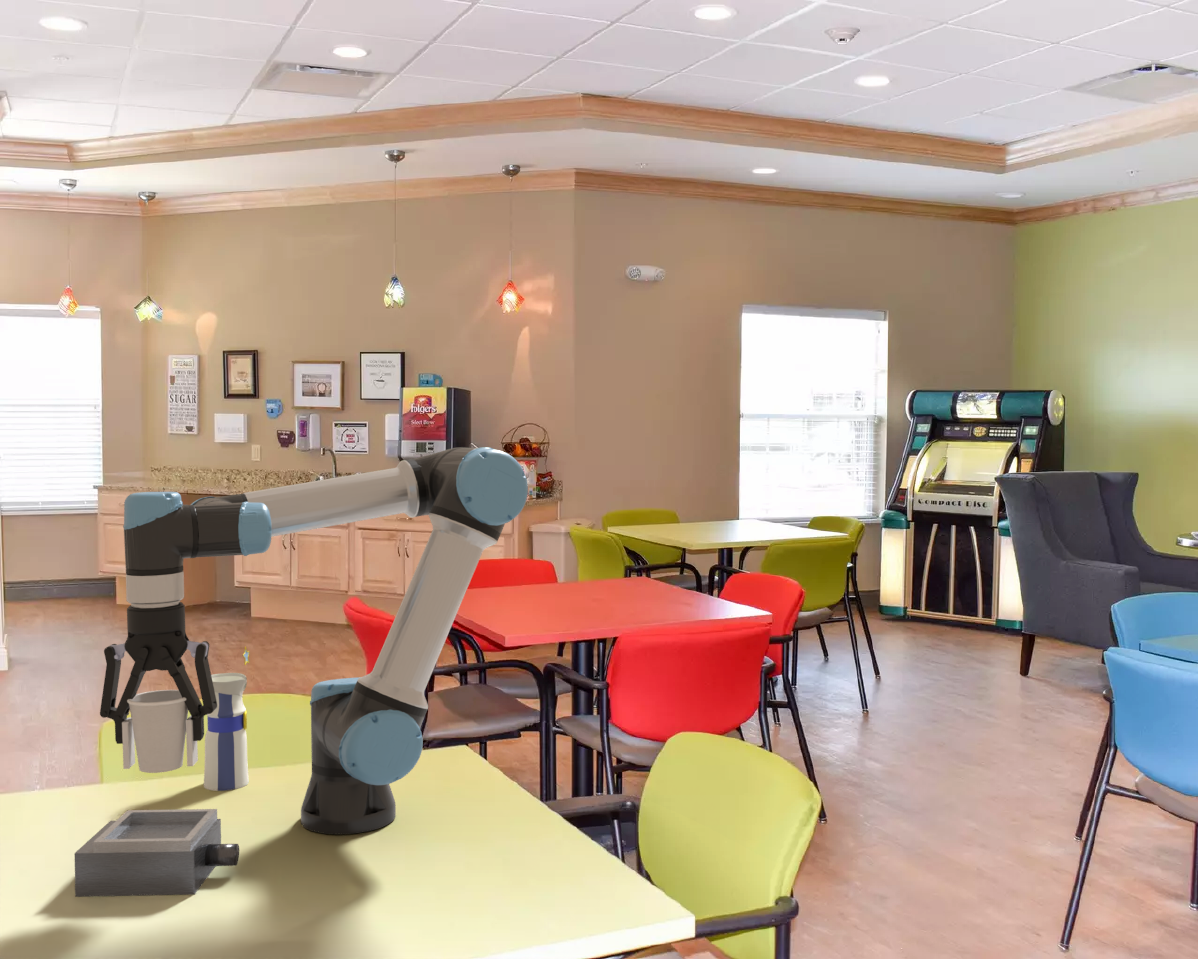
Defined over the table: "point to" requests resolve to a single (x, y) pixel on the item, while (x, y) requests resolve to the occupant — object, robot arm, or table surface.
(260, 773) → the table surface
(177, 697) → the dixie cup
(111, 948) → the table surface
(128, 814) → the block
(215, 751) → the white blue vase
